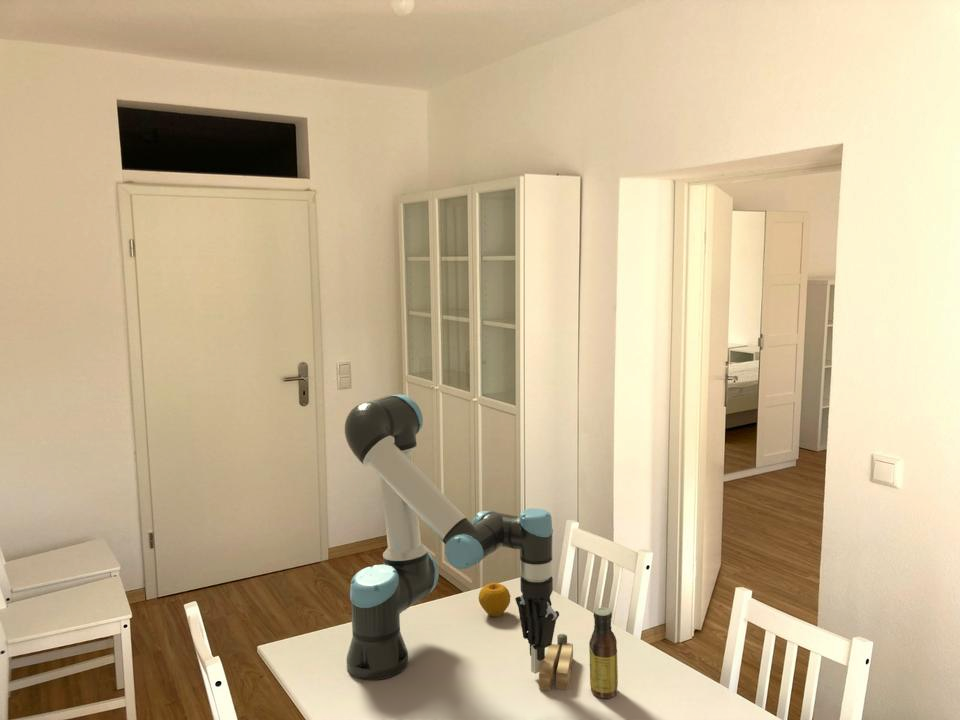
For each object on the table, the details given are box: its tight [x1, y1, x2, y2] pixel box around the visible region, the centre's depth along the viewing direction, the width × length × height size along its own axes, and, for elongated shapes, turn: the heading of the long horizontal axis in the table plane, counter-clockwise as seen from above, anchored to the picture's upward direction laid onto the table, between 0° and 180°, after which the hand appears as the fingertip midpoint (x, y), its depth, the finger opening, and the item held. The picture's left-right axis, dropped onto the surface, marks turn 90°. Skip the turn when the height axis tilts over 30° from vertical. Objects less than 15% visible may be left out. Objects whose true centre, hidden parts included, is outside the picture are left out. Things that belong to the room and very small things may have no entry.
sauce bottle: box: [588, 606, 619, 699], centre depth 176 cm, size 6×6×20 cm
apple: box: [478, 582, 511, 618], centre depth 217 cm, size 9×9×9 cm
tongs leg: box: [538, 643, 560, 692], centre depth 185 cm, size 14×2×4 cm, turn 165°
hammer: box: [555, 633, 574, 691], centre depth 187 cm, size 16×4×5 cm, turn 168°
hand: (537, 670), depth 184 cm, fingers closed
